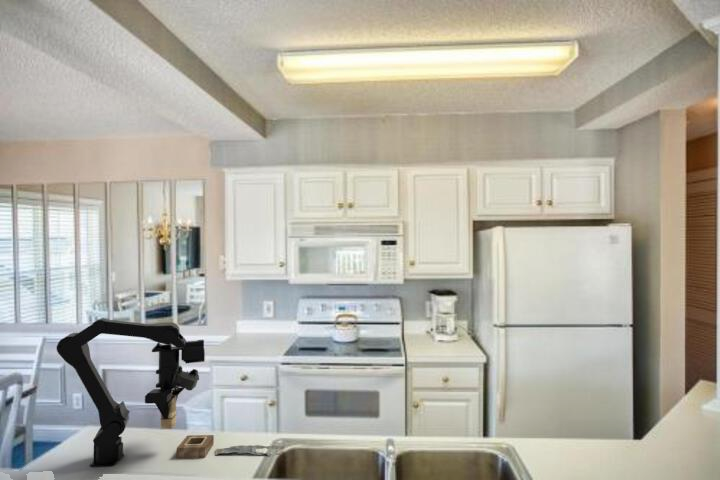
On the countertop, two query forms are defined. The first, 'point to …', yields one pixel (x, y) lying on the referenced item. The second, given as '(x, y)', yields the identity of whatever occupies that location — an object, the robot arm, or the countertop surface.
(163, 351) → the robot arm
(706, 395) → the countertop surface
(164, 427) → the peg
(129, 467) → the countertop surface
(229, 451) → the driftwood
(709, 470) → the countertop surface
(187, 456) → the board
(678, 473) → the countertop surface
